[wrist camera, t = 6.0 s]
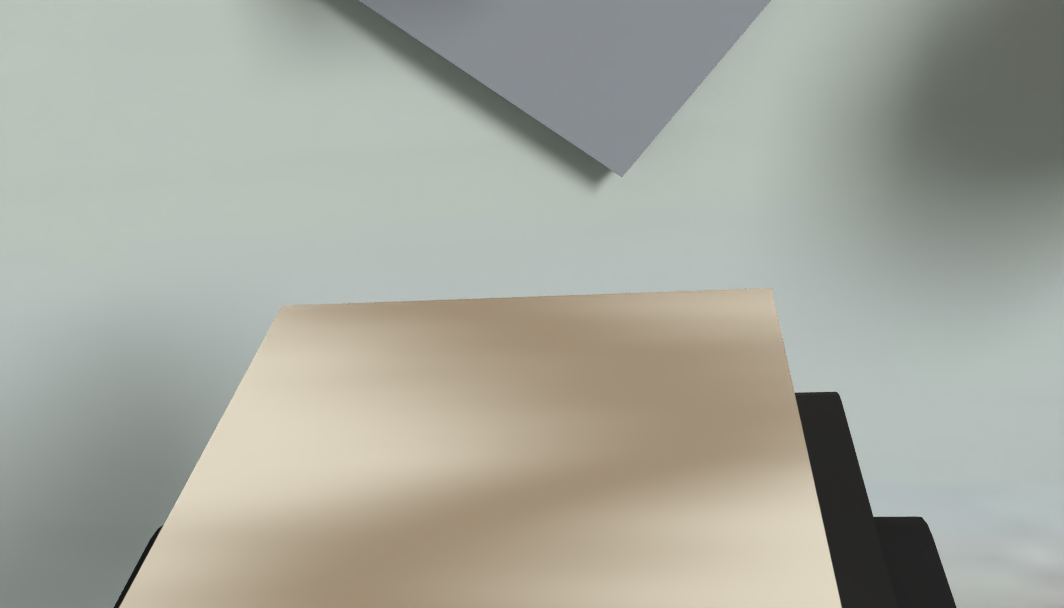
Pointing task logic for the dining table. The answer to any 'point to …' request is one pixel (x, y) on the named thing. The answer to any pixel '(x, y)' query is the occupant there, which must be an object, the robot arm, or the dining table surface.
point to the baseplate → (583, 59)
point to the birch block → (505, 462)
